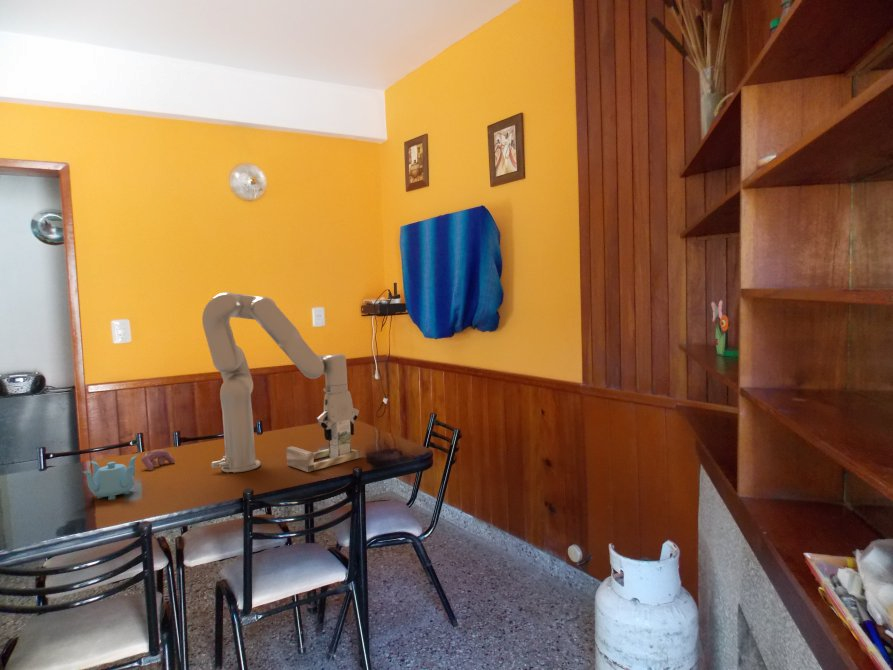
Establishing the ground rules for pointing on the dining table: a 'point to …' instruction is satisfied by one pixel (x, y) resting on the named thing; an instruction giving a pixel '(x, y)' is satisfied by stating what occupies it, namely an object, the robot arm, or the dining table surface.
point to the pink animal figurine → (154, 454)
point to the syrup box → (340, 439)
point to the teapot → (111, 479)
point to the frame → (306, 458)
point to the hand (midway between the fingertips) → (339, 437)
